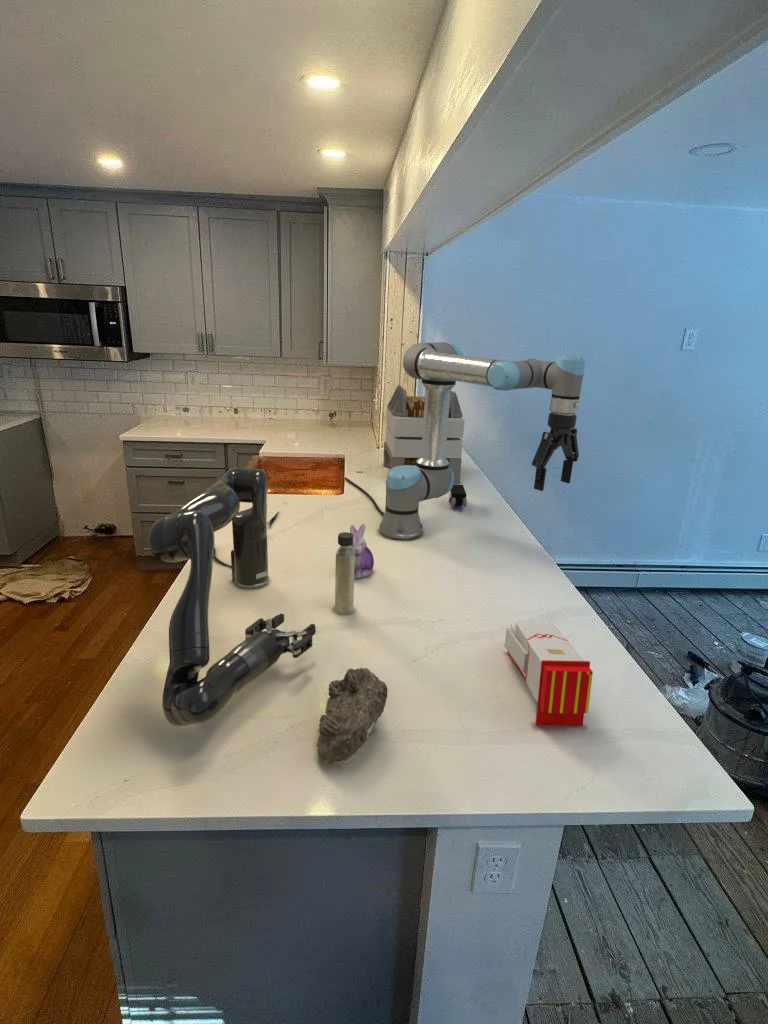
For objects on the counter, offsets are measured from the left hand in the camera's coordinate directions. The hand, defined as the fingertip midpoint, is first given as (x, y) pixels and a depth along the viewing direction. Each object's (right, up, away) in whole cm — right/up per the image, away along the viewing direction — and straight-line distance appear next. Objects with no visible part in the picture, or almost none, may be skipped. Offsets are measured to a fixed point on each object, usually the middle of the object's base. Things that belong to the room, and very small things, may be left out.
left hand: (298, 622), depth 129 cm
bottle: (+9, -1, +20) cm, 22 cm away
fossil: (+13, -16, -21) cm, 30 cm away
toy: (+53, -12, -6) cm, 55 cm away
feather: (-20, +24, +83) cm, 89 cm away
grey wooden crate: (+37, +44, +146) cm, 157 cm away
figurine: (+12, +7, +41) cm, 43 cm away
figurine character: (+49, +27, +102) cm, 116 cm away
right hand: (+69, +33, +37) cm, 84 cm away
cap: (+10, +19, +13) cm, 25 cm away
